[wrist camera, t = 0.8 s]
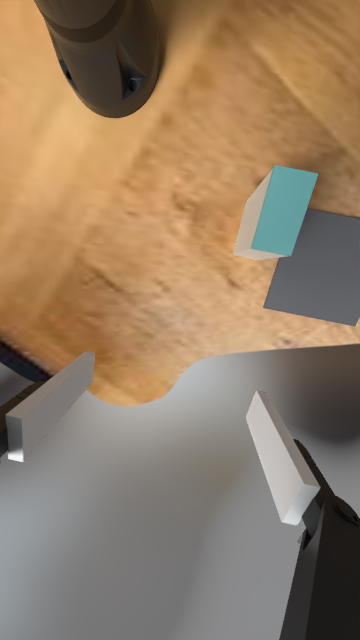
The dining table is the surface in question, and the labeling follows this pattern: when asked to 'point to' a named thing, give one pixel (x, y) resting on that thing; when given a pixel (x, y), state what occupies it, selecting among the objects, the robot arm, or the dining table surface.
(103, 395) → the dining table surface
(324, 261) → the rubber mat
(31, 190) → the dining table surface
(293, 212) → the grey teal block
